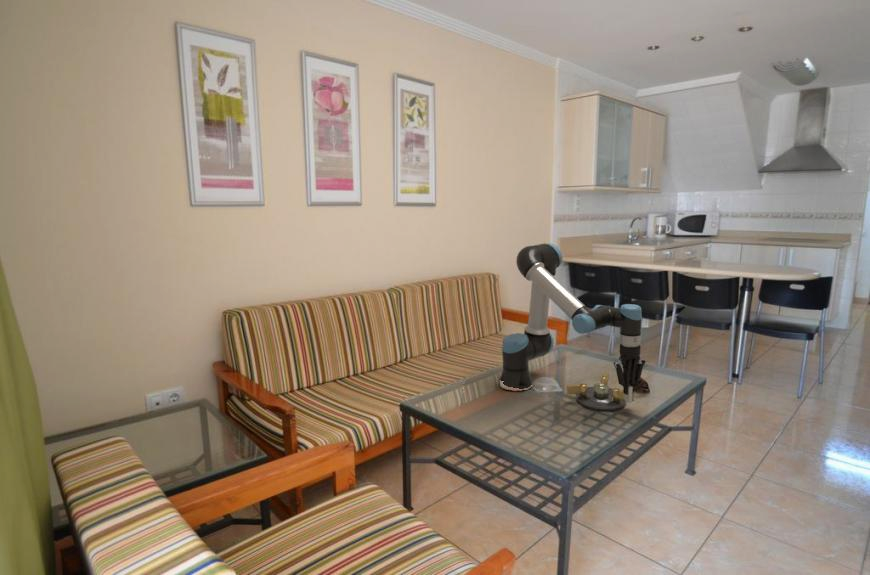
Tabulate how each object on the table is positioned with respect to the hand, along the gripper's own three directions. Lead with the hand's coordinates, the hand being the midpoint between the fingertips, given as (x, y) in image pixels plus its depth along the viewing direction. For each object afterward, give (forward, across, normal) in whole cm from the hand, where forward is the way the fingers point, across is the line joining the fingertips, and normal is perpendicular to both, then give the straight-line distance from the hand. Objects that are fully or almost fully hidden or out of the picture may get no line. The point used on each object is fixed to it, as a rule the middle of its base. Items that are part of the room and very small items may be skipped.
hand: (628, 401), depth 188 cm
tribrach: (+4, -4, +12) cm, 14 cm away
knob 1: (+2, -14, +14) cm, 20 cm away
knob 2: (+2, +3, +20) cm, 20 cm away
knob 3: (+2, 0, +3) cm, 4 cm away
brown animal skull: (+5, +16, +15) cm, 22 cm away
